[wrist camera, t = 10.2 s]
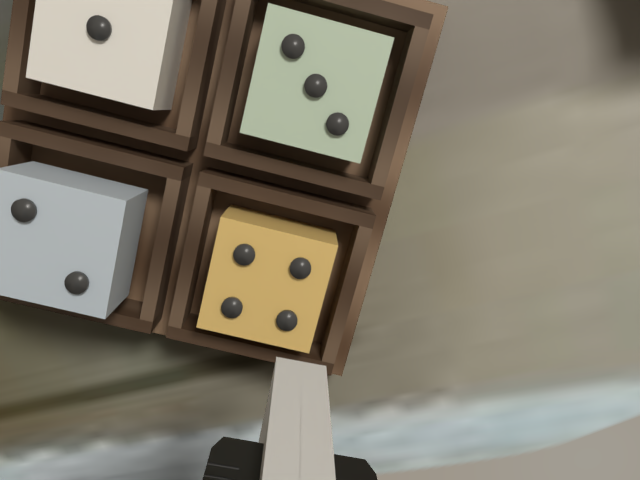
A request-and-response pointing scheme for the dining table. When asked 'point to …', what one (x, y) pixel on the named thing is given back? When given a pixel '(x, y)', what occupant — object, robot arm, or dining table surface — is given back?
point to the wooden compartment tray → (227, 162)
